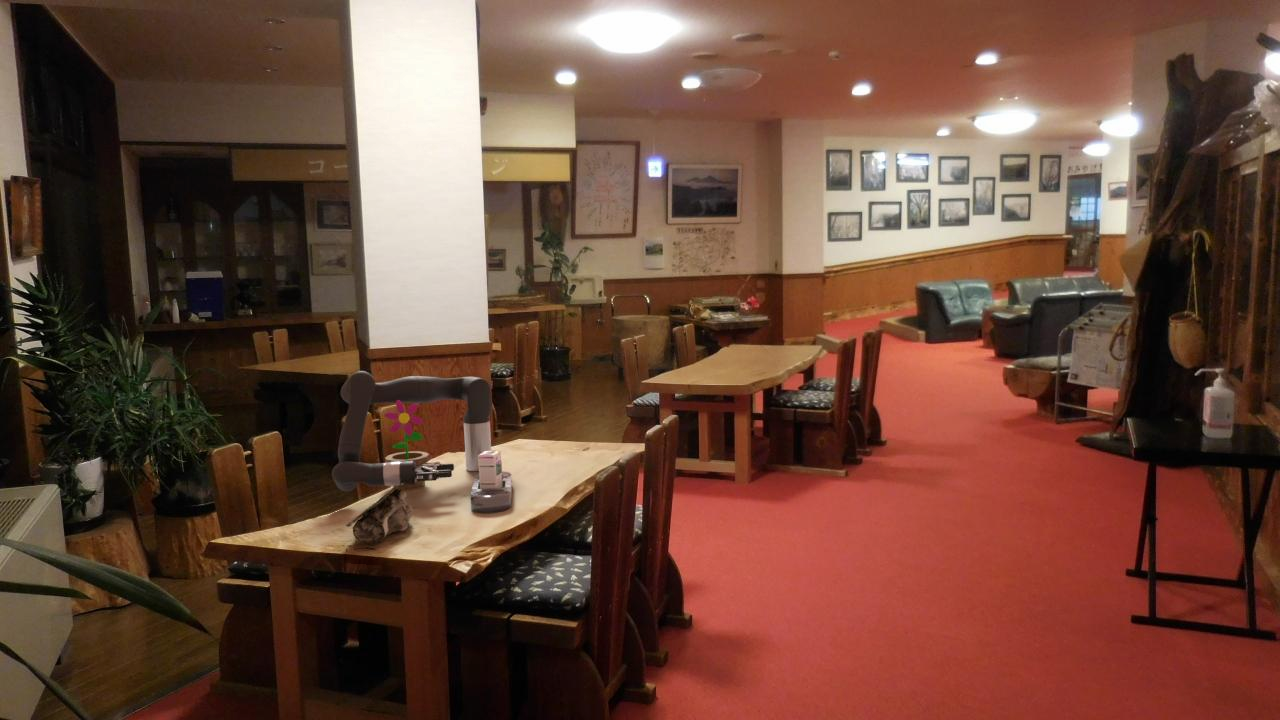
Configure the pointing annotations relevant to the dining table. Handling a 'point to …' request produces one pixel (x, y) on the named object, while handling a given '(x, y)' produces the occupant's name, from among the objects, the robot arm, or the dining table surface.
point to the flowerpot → (413, 436)
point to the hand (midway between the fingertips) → (452, 470)
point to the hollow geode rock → (383, 517)
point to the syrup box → (490, 470)
